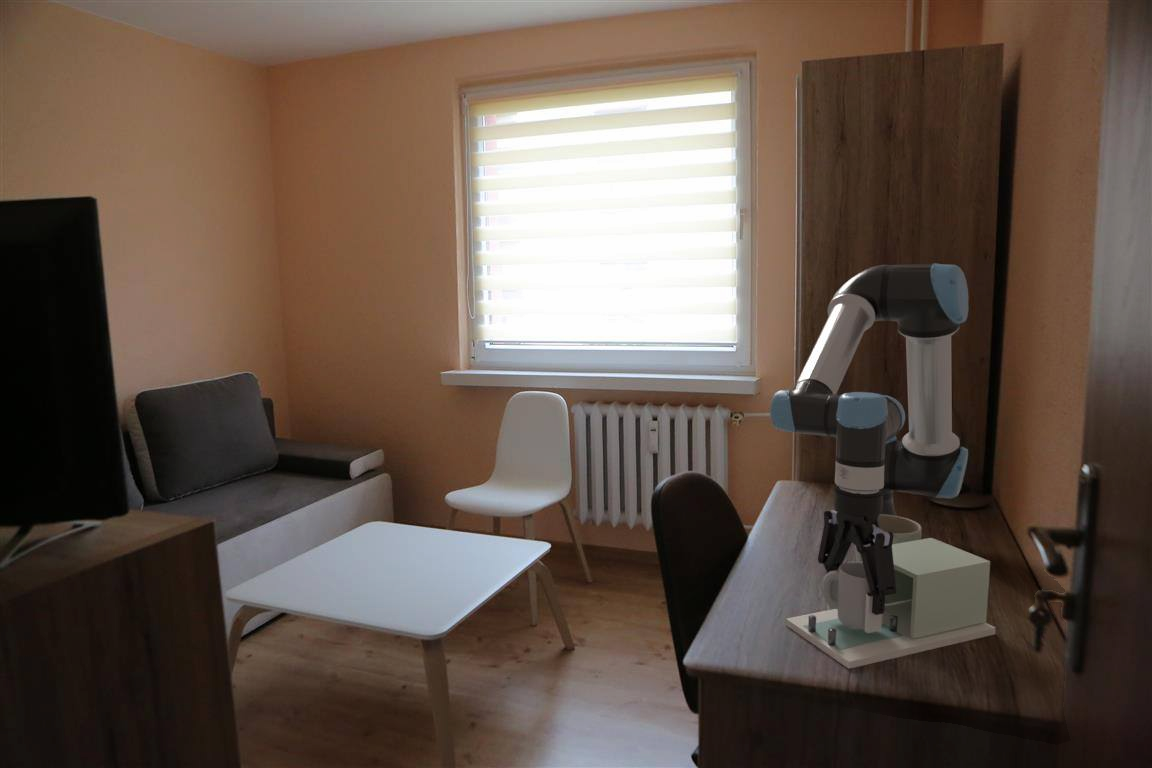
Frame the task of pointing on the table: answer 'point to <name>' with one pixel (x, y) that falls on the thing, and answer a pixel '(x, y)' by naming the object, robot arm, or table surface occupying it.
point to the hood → (940, 585)
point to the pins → (833, 631)
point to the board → (879, 636)
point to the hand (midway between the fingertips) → (852, 618)
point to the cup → (848, 593)
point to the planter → (897, 530)
